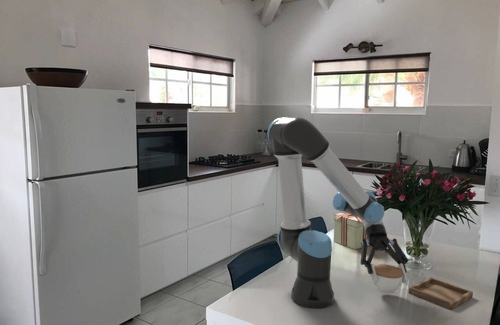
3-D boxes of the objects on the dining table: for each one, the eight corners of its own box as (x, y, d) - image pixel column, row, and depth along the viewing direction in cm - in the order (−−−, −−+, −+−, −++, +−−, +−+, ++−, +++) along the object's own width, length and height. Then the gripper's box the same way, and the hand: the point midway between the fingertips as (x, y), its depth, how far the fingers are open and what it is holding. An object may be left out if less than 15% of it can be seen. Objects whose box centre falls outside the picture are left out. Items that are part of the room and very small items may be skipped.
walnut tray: (451, 309, 137) (452, 303, 137) (408, 292, 150) (409, 287, 150) (472, 297, 147) (472, 291, 147) (430, 282, 160) (430, 277, 159)
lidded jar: (396, 284, 152) (398, 261, 151) (405, 297, 141) (407, 272, 140) (368, 282, 153) (370, 259, 152) (374, 295, 142) (376, 269, 141)
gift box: (327, 243, 206) (329, 210, 204) (349, 236, 217) (351, 205, 215) (355, 252, 193) (357, 217, 191) (377, 245, 205) (379, 212, 202)
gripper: (398, 232, 162) (415, 285, 149) (343, 232, 159) (356, 286, 145) (406, 223, 156) (425, 277, 143) (349, 223, 153) (363, 278, 139)
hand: (390, 282), depth 144 cm, fingers closed on lidded jar, 11 cm apart
